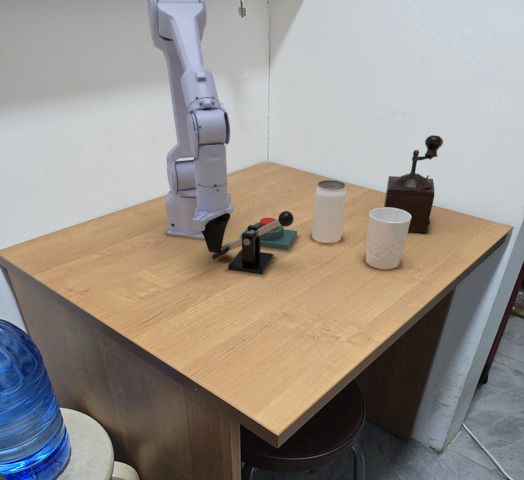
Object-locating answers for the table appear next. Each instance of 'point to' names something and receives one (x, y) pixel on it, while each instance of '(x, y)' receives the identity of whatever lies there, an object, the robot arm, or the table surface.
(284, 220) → the lever
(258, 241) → the bracket
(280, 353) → the table surface
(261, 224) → the button
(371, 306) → the table surface
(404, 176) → the brown coffee grinder
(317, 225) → the can
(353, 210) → the table surface
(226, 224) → the robot arm
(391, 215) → the white cup
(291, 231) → the button block
